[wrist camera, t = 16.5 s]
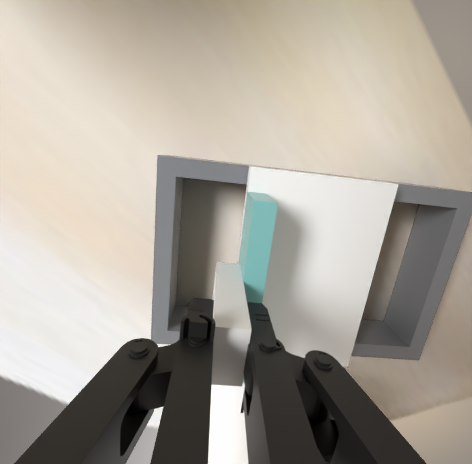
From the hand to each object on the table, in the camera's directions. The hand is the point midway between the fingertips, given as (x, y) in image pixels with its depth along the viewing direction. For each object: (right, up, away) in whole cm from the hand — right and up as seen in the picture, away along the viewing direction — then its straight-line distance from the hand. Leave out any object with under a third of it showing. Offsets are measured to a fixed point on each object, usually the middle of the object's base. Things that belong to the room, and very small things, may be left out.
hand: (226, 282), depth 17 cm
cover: (+5, 0, +2) cm, 6 cm away
